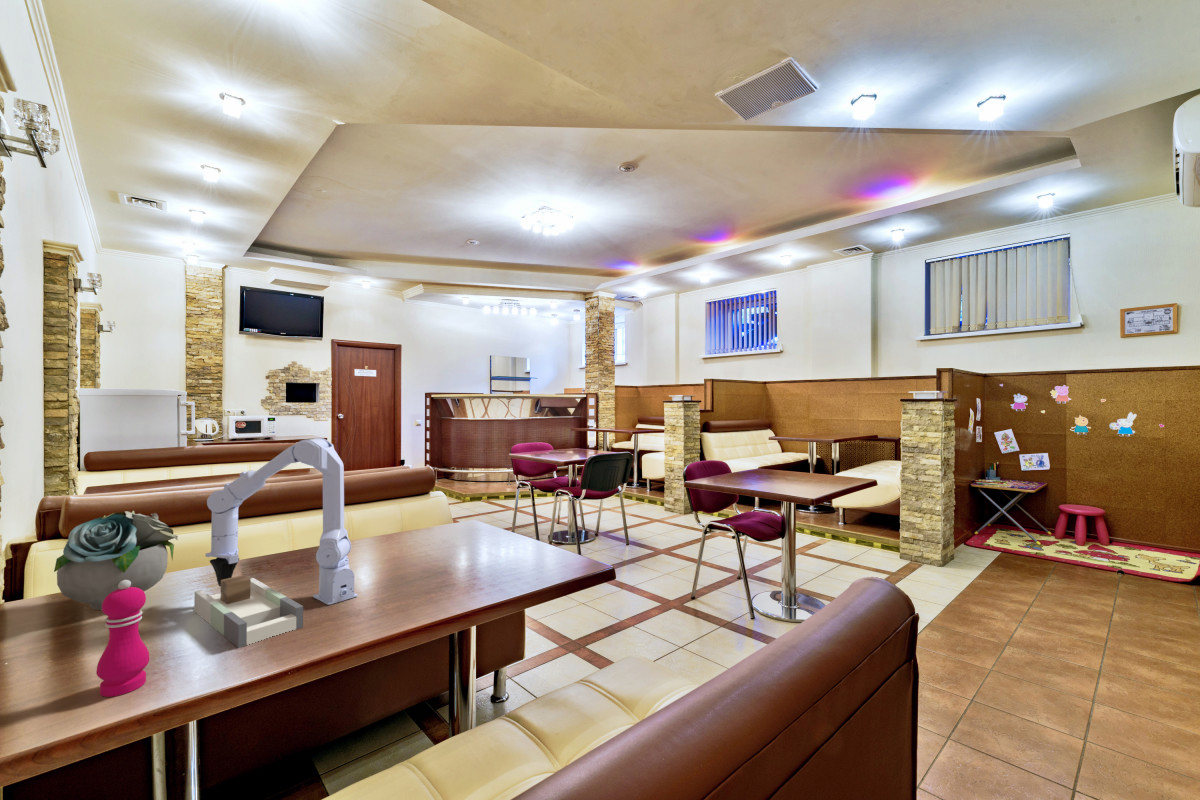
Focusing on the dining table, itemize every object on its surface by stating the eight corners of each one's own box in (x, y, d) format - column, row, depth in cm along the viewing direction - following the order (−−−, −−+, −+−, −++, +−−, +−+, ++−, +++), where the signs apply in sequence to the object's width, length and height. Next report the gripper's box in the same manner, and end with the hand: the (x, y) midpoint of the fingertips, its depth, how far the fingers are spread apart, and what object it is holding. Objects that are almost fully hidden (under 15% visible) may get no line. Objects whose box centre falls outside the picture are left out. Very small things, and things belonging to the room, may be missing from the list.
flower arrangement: (199, 592, 142) (200, 505, 142) (88, 630, 118) (89, 525, 118) (136, 583, 148) (137, 500, 149) (19, 618, 124) (20, 519, 125)
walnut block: (250, 598, 129) (250, 578, 129) (227, 604, 125) (227, 584, 125) (243, 593, 132) (243, 574, 132) (220, 599, 128) (220, 580, 129)
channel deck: (303, 627, 119) (303, 606, 119) (238, 648, 109) (238, 624, 109) (253, 595, 139) (253, 577, 139) (194, 611, 129) (194, 591, 129)
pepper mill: (145, 673, 99) (146, 571, 99) (153, 686, 94) (154, 579, 95) (93, 689, 93) (94, 580, 94) (98, 703, 89) (100, 589, 89)
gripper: (198, 532, 136) (197, 583, 135) (215, 541, 127) (214, 596, 127) (229, 527, 141) (228, 576, 141) (248, 536, 132) (247, 588, 132)
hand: (224, 585), depth 134 cm, fingers closed
